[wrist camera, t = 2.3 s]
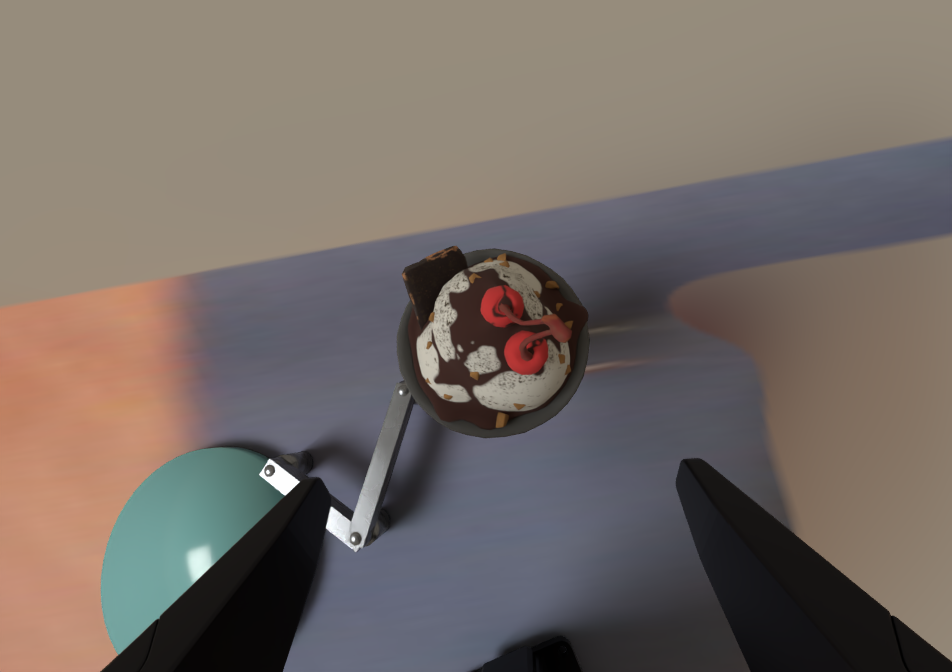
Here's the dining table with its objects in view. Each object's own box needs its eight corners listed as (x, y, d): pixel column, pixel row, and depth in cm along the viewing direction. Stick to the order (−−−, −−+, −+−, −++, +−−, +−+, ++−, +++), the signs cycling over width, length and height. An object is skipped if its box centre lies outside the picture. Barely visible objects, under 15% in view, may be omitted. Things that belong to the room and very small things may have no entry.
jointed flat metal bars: (470, 494, 21) (461, 507, 18) (318, 561, 21) (284, 586, 18) (424, 378, 23) (409, 373, 20) (285, 441, 23) (249, 446, 20)
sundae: (569, 418, 21) (679, 427, 6) (458, 433, 22) (328, 475, 7) (549, 312, 22) (599, 124, 8) (445, 329, 23) (316, 185, 9)
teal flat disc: (340, 630, 20) (331, 641, 19) (137, 719, 20) (118, 734, 19) (280, 414, 23) (270, 414, 22) (105, 494, 24) (88, 497, 23)
